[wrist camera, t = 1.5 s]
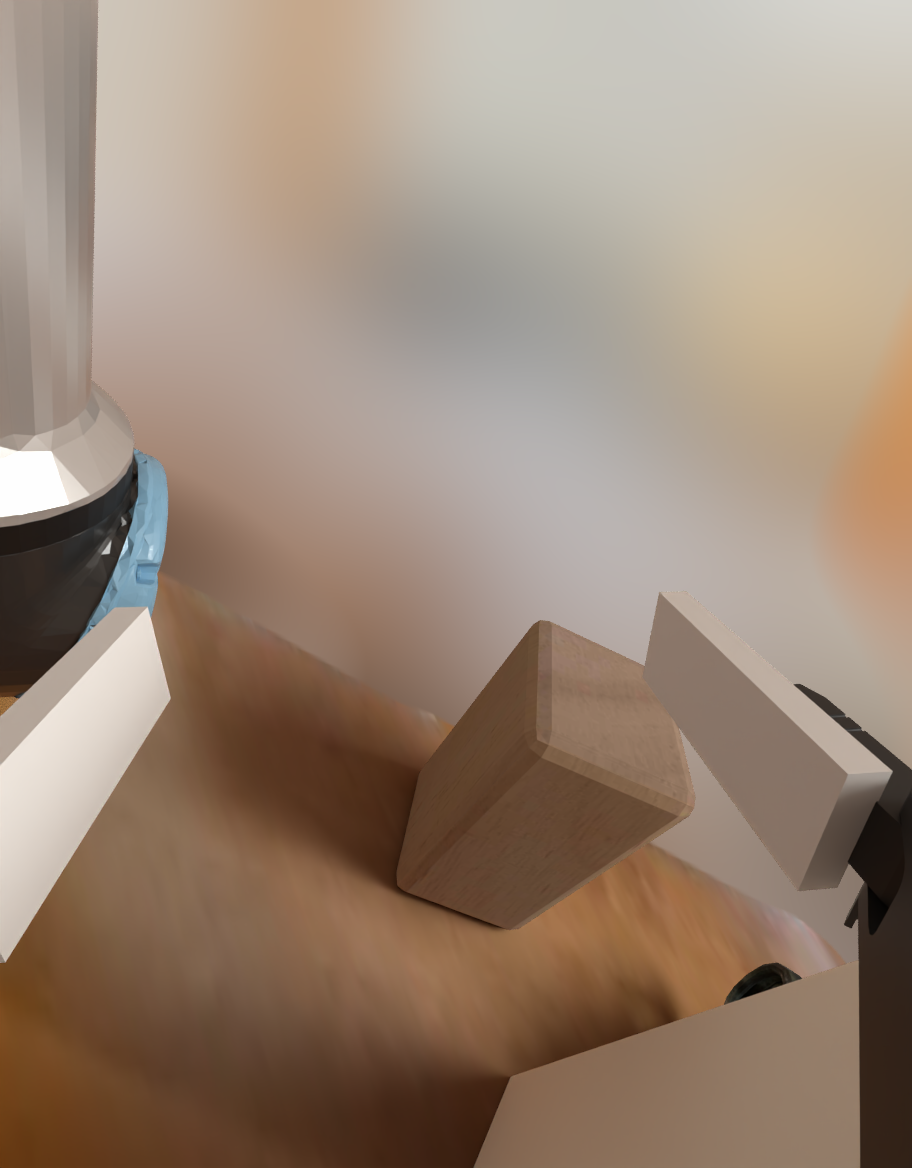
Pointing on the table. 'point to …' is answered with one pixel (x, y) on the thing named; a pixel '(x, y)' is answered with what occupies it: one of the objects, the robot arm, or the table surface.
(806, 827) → the robot arm
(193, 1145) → the table surface
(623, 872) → the table surface
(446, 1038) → the table surface
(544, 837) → the block
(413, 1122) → the table surface
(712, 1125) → the stand
